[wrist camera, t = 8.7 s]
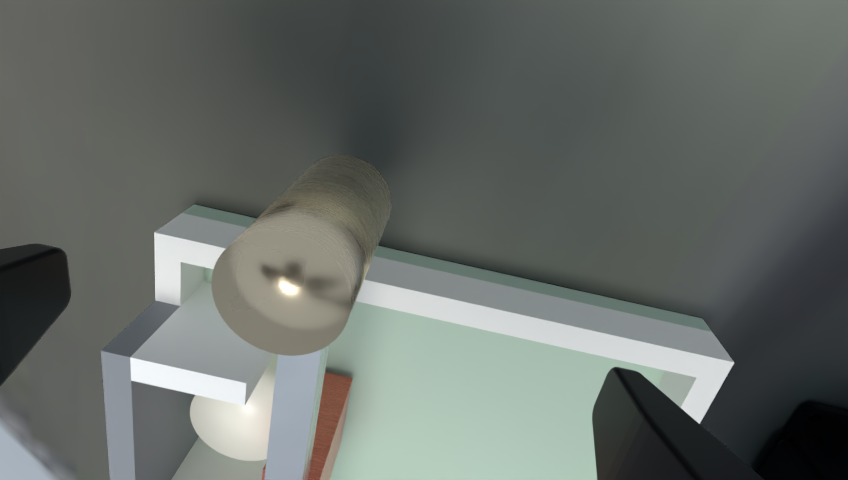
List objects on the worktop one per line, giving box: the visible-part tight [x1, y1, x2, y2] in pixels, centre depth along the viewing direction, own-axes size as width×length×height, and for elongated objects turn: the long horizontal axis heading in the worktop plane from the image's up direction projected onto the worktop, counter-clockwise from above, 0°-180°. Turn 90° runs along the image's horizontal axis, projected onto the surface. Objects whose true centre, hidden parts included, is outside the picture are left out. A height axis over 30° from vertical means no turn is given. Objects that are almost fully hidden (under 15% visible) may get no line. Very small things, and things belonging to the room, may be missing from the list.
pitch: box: [101, 204, 734, 480], centre depth 23 cm, size 22×16×6 cm
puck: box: [190, 354, 278, 461], centre depth 23 cm, size 4×4×2 cm
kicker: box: [211, 155, 392, 480], centre depth 19 cm, size 3×22×9 cm, turn 168°
